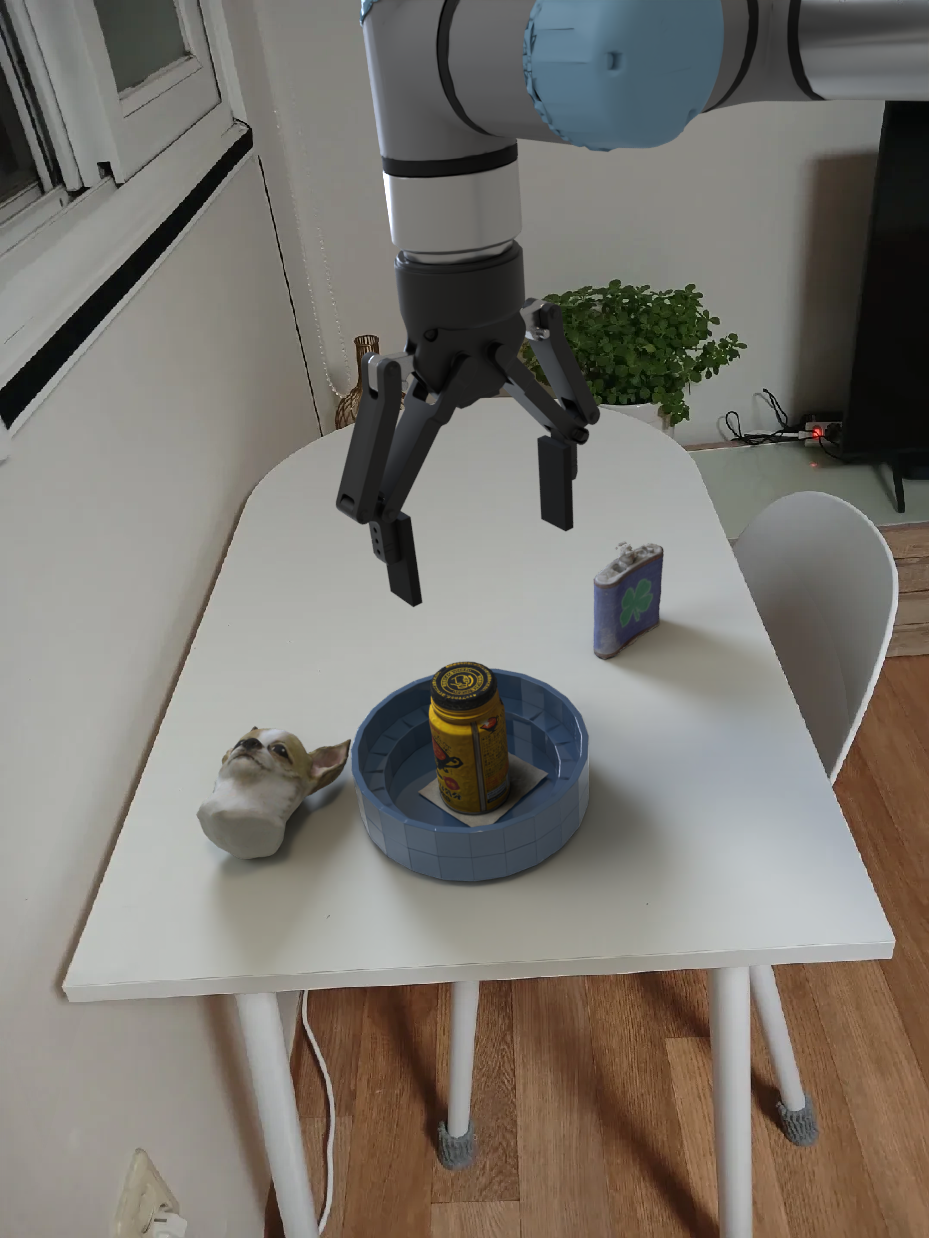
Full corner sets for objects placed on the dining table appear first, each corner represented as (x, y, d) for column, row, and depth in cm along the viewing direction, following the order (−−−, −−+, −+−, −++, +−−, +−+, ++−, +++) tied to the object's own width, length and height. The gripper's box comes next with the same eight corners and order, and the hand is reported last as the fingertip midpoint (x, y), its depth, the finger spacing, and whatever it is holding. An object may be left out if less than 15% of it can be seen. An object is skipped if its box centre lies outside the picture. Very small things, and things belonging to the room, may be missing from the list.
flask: (607, 662, 93) (607, 571, 87) (584, 650, 95) (583, 560, 89) (666, 621, 98) (670, 531, 92) (643, 610, 100) (646, 522, 94)
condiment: (417, 793, 80) (400, 684, 73) (485, 739, 85) (475, 631, 78) (481, 835, 76) (469, 723, 69) (548, 776, 81) (543, 665, 74)
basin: (637, 800, 78) (639, 747, 75) (451, 929, 70) (443, 876, 66) (492, 690, 91) (487, 640, 88) (320, 787, 83) (307, 736, 79)
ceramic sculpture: (146, 789, 72) (237, 674, 84) (171, 870, 76) (254, 750, 88) (275, 809, 69) (350, 688, 81) (293, 892, 74) (361, 765, 86)
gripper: (572, 193, 63) (578, 481, 75) (233, 287, 52) (305, 608, 64) (656, 207, 58) (648, 512, 70) (301, 314, 47) (365, 657, 59)
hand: (485, 559), depth 67 cm, fingers open, 13 cm apart
